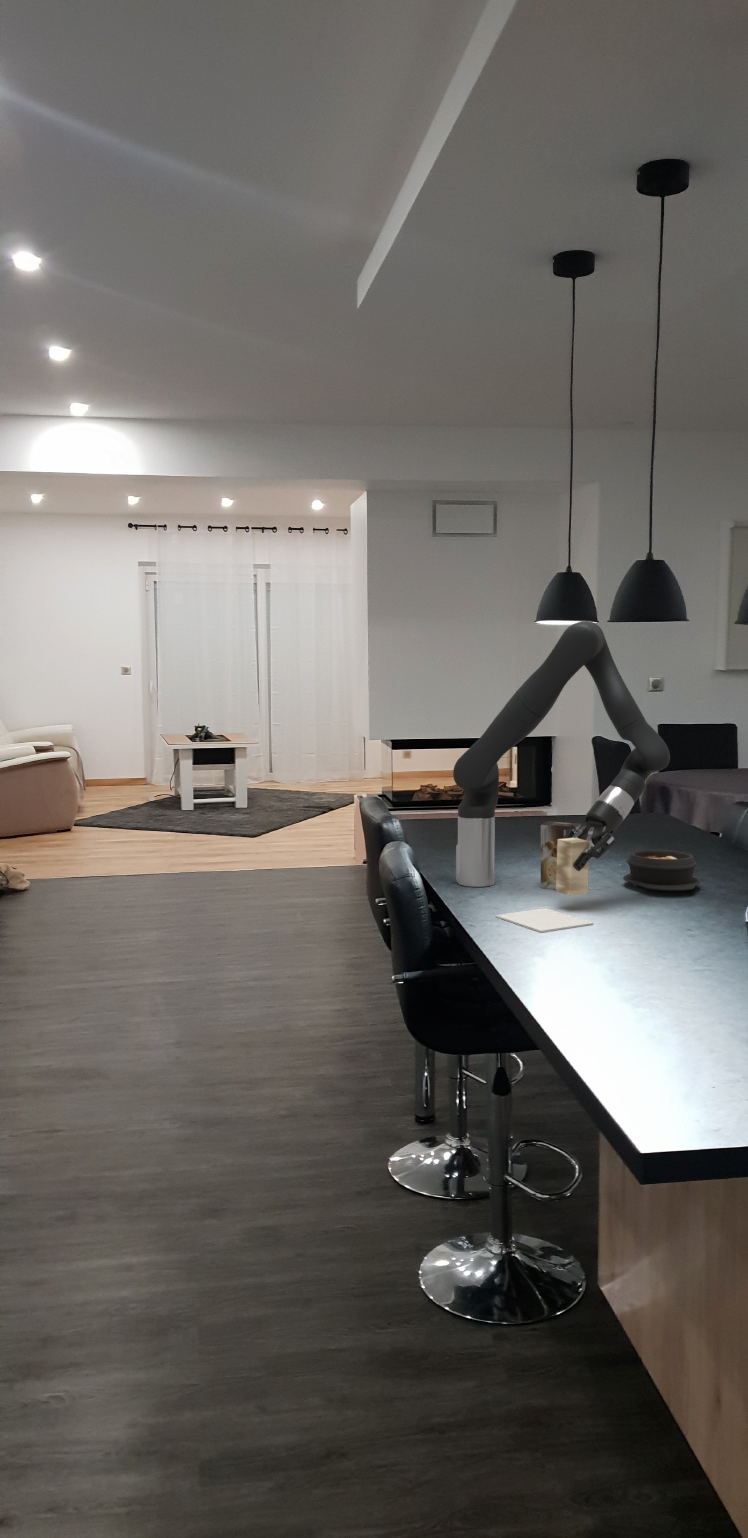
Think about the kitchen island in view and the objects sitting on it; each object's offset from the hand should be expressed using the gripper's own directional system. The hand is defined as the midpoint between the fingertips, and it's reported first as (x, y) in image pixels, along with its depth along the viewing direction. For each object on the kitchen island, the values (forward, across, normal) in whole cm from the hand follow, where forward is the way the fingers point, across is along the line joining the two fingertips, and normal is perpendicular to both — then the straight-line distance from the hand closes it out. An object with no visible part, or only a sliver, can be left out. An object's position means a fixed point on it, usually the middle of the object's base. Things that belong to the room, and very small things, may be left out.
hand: (568, 865), depth 240 cm
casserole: (-19, -8, +33) cm, 38 cm away
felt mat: (+15, +6, -1) cm, 17 cm away
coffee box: (-3, -20, +18) cm, 26 cm away
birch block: (+3, 0, +5) cm, 6 cm away
